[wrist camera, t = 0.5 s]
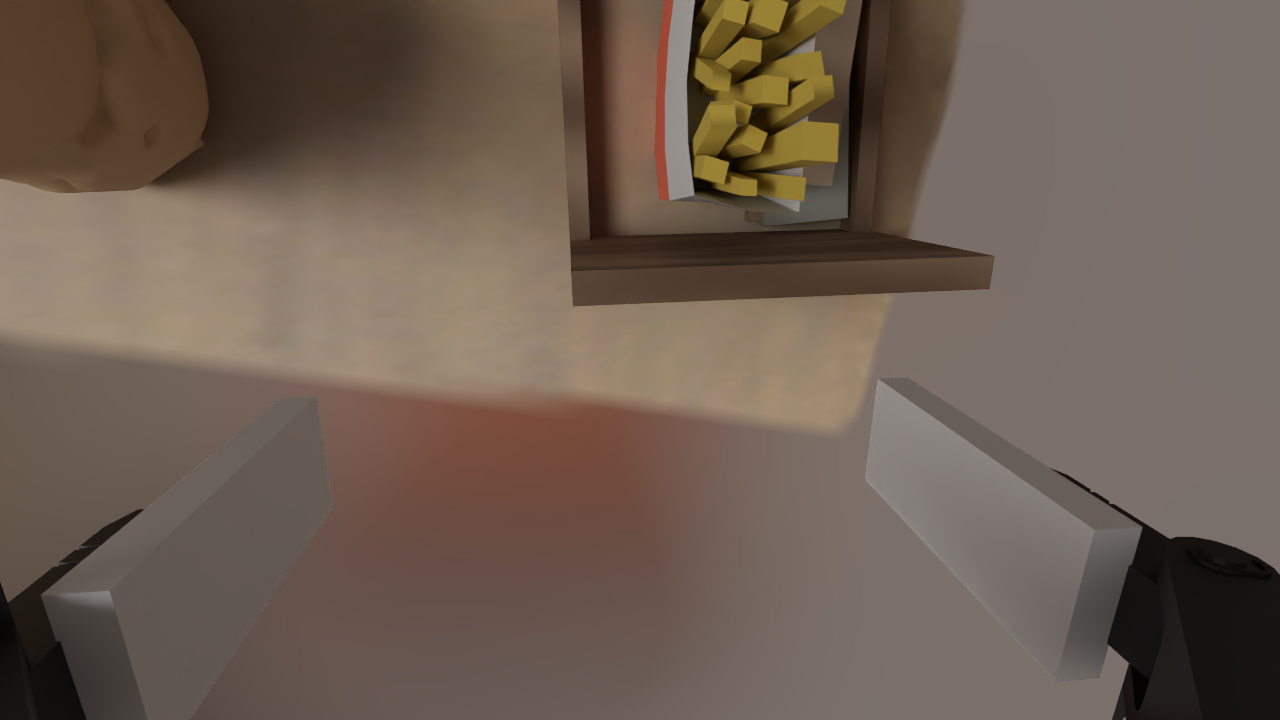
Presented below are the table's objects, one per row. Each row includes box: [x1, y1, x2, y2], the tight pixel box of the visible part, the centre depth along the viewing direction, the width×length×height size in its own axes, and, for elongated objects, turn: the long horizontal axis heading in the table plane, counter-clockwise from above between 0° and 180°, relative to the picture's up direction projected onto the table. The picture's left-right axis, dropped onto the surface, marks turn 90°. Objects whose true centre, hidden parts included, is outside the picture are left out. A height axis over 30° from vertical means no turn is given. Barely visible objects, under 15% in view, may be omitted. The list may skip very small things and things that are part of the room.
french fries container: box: [655, 0, 846, 212], centre depth 30 cm, size 5×11×18 cm, turn 179°
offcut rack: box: [558, 0, 994, 306], centre depth 32 cm, size 18×19×14 cm
